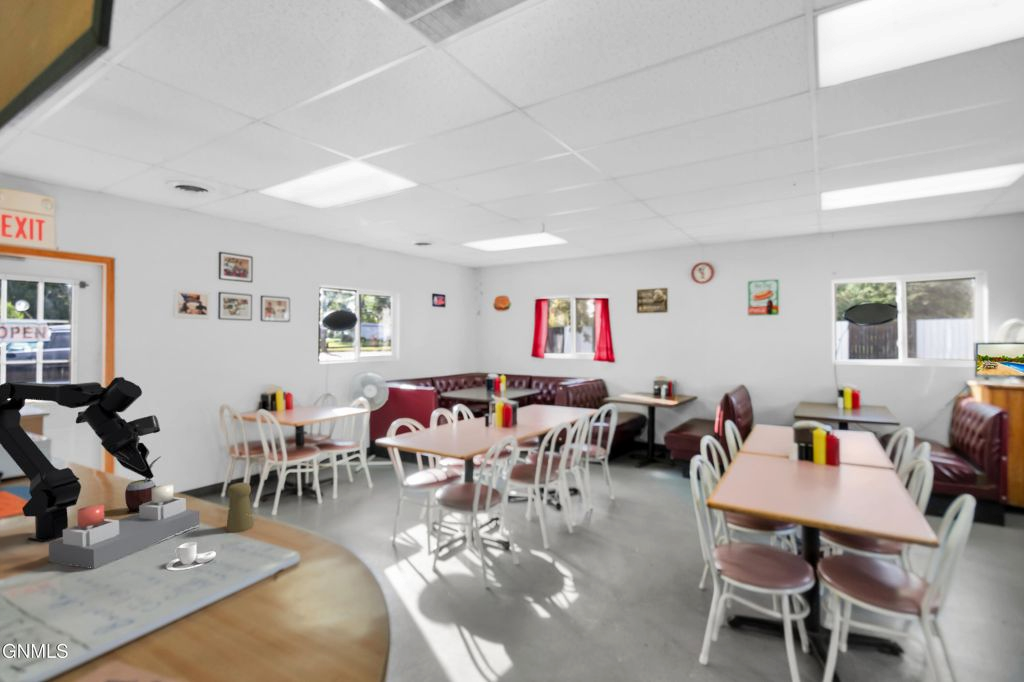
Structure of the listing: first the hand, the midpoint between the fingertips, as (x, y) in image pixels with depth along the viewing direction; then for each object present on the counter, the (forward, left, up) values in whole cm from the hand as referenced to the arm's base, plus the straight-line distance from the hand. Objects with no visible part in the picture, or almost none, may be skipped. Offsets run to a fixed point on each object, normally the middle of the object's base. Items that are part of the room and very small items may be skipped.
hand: (148, 474), depth 119 cm
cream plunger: (-1, +4, -8) cm, 9 cm away
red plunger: (-1, -12, -8) cm, 14 cm away
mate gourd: (-22, +14, -15) cm, 31 cm away
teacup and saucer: (+25, -10, -16) cm, 31 cm away
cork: (+17, +10, -15) cm, 25 cm away
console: (-1, -4, -15) cm, 16 cm away
